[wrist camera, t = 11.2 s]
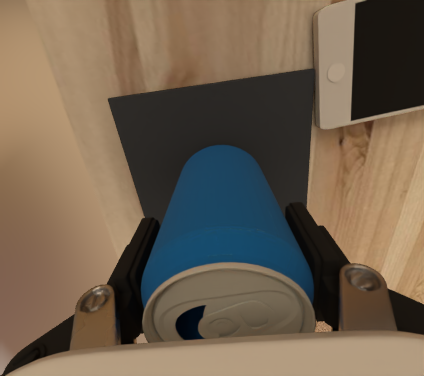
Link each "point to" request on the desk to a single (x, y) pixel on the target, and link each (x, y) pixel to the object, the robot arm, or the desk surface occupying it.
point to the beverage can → (225, 257)
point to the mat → (218, 132)
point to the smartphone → (368, 60)
